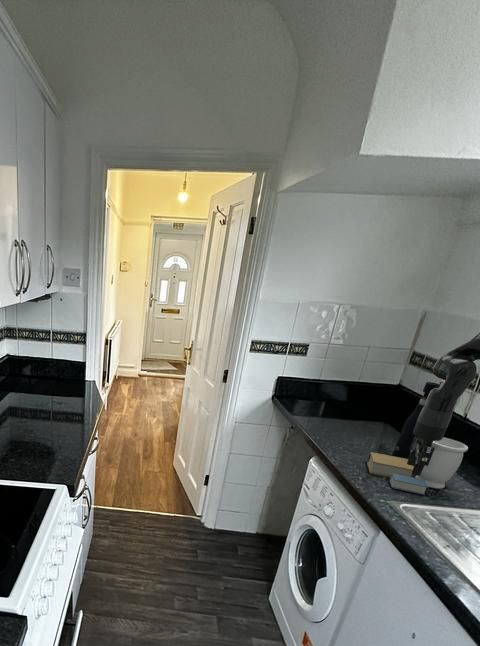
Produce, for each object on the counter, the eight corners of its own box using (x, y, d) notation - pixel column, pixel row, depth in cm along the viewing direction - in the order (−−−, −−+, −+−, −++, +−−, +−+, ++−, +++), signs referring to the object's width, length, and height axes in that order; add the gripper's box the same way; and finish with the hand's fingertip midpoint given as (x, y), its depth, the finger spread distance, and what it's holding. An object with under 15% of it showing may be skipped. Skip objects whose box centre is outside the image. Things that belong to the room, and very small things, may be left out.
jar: (453, 493, 134) (474, 452, 127) (416, 486, 137) (435, 445, 130) (441, 479, 143) (460, 439, 137) (406, 472, 146) (423, 433, 140)
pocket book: (421, 487, 136) (424, 479, 135) (424, 495, 132) (428, 486, 130) (389, 480, 140) (392, 473, 139) (391, 487, 135) (394, 479, 134)
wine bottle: (413, 461, 156) (447, 385, 143) (406, 465, 152) (440, 387, 140) (395, 455, 160) (426, 380, 148) (387, 458, 157) (418, 382, 144)
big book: (405, 470, 148) (409, 459, 146) (410, 481, 140) (415, 470, 138) (366, 462, 153) (370, 451, 151) (369, 473, 145) (373, 461, 143)
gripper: (453, 432, 119) (432, 481, 126) (441, 418, 131) (422, 464, 138) (422, 426, 122) (402, 475, 129) (413, 413, 134) (395, 459, 140)
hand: (412, 469), depth 133 cm, fingers open, 8 cm apart
